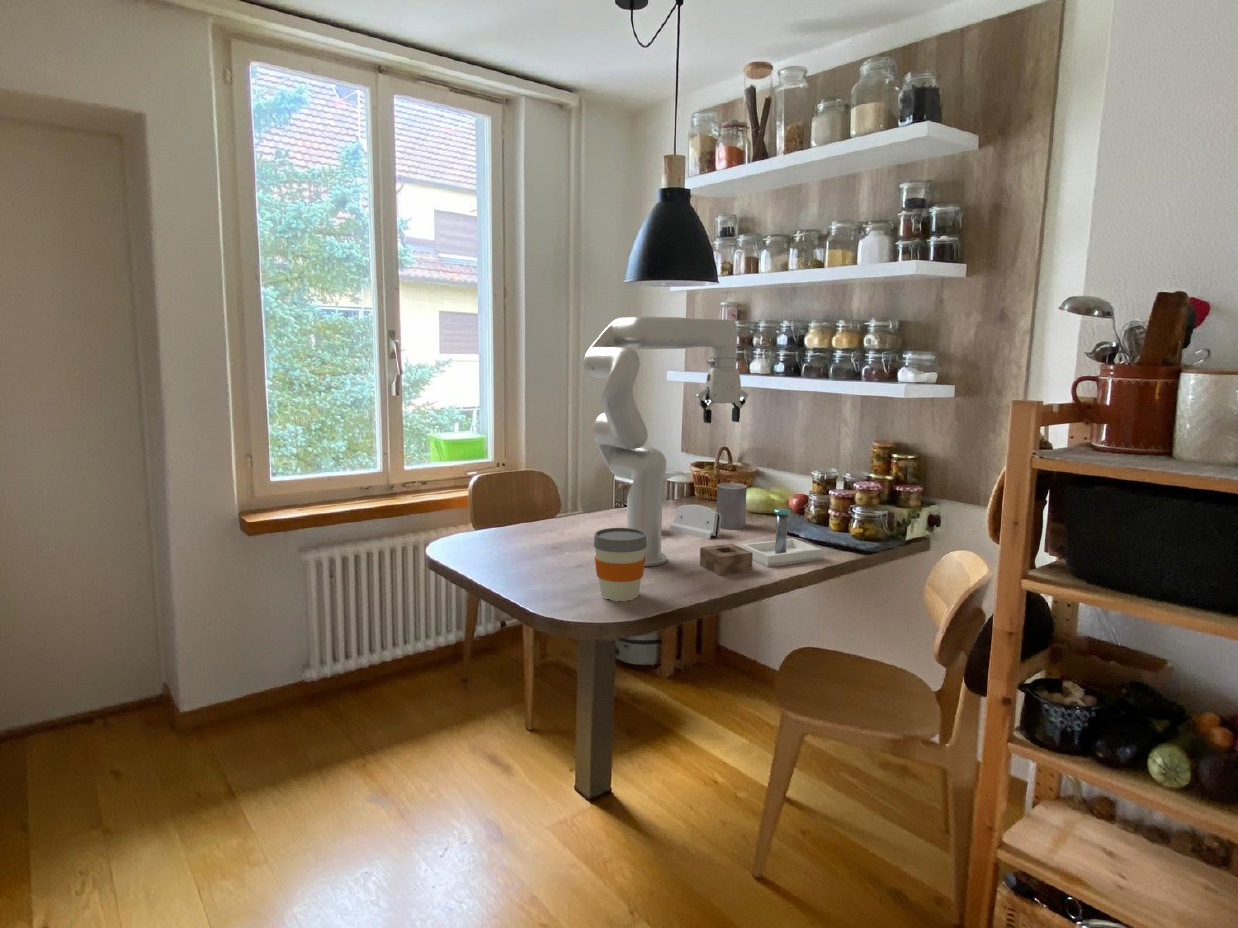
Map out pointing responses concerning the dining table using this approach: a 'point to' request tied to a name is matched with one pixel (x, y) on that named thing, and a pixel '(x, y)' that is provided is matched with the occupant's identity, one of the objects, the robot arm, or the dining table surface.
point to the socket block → (726, 559)
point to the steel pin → (781, 529)
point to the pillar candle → (731, 505)
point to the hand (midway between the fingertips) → (721, 422)
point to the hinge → (696, 521)
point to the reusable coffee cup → (620, 562)
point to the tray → (794, 553)
